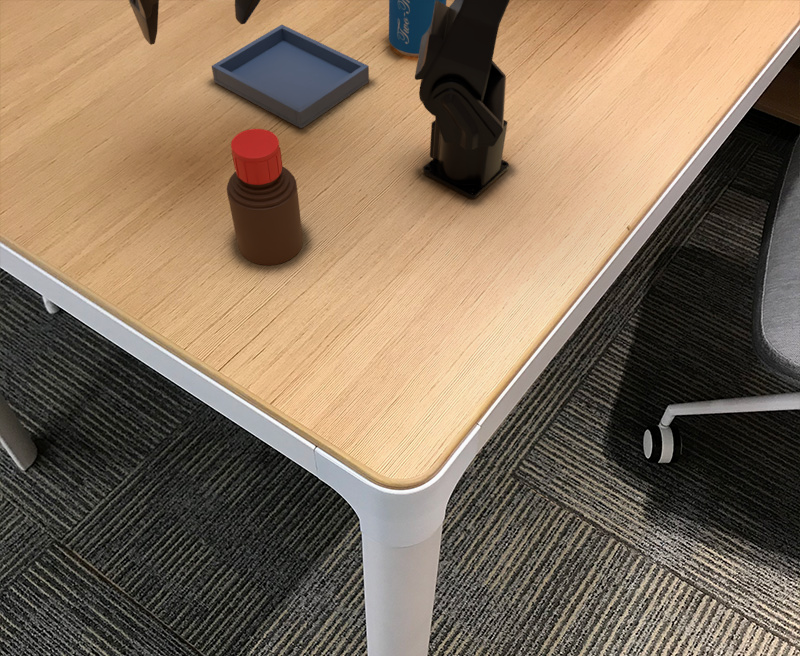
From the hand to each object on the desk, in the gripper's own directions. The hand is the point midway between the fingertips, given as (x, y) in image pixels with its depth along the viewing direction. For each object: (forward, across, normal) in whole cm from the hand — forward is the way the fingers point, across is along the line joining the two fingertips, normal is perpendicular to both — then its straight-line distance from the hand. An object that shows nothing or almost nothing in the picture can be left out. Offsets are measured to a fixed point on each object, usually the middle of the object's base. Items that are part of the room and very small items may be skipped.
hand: (196, 31), depth 69 cm
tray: (+11, -14, -3) cm, 19 cm away
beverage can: (+9, -30, -1) cm, 31 cm away
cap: (0, +4, +15) cm, 15 cm away
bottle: (+11, +2, +16) cm, 20 cm away
